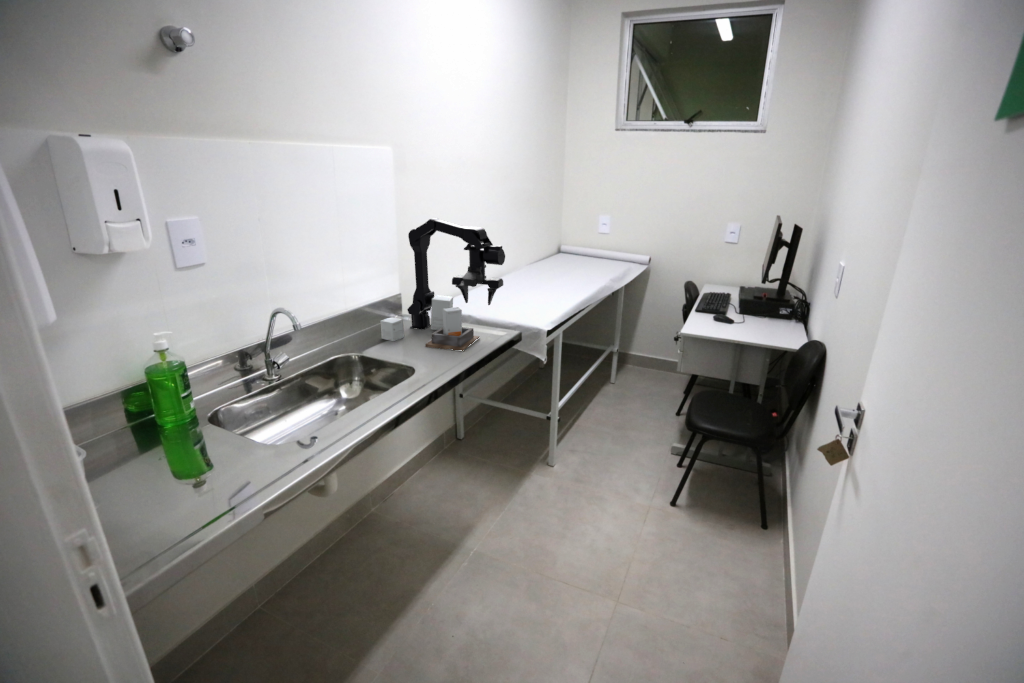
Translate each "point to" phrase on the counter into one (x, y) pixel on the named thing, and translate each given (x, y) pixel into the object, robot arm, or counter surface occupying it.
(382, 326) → the skincare box
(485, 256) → the robot arm
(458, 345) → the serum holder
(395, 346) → the counter surface
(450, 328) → the skincare box
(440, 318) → the supplement box
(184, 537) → the counter surface
